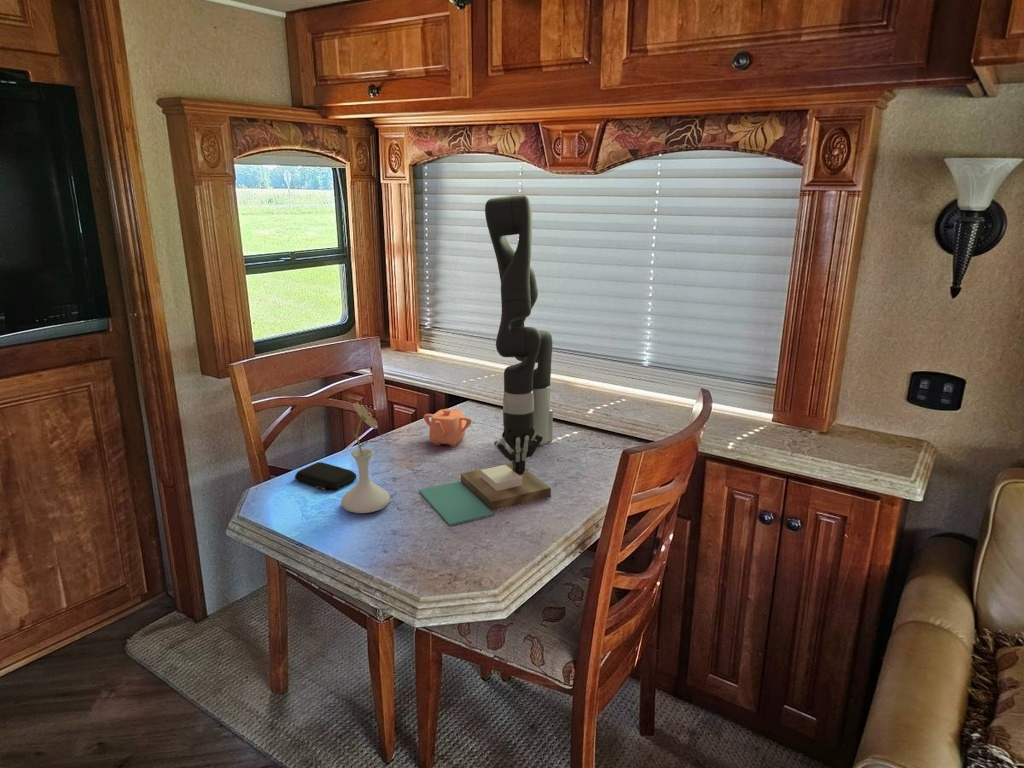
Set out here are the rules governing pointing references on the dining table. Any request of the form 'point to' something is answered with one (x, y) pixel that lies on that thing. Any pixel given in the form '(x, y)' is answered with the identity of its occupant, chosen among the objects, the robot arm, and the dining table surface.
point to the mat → (455, 503)
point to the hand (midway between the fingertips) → (518, 473)
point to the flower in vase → (364, 477)
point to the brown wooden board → (506, 490)
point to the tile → (501, 477)
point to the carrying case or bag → (325, 476)
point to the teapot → (447, 426)
